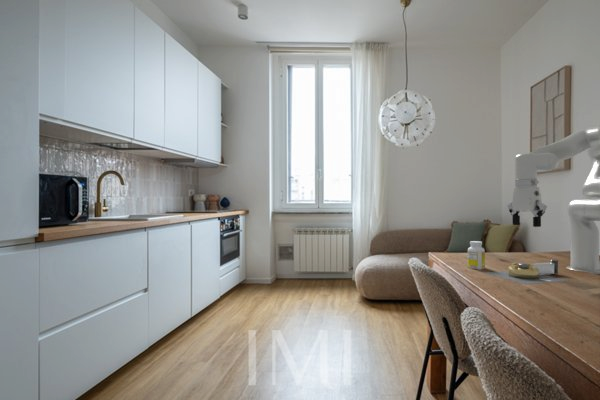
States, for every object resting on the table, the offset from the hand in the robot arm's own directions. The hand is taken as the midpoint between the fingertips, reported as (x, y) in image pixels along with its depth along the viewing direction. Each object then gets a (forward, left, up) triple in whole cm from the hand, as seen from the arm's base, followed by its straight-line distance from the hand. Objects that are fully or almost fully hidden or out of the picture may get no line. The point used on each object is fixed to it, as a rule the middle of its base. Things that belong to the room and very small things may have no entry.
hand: (526, 225), depth 144 cm
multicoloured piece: (+3, +7, -19) cm, 20 cm away
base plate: (+8, +6, -20) cm, 23 cm away
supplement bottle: (+13, -13, -21) cm, 28 cm away
